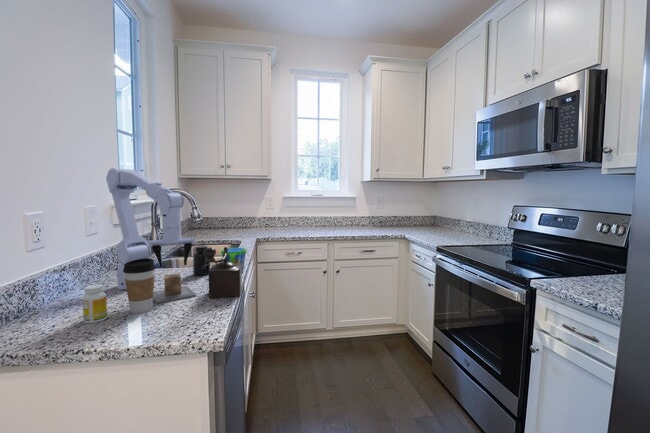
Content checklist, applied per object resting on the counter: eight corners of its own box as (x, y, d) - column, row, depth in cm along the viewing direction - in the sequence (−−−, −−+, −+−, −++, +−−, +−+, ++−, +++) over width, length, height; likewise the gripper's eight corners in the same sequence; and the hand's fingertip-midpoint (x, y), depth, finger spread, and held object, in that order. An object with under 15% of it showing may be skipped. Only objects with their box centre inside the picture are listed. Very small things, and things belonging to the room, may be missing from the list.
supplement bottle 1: (80, 324, 86) (77, 290, 85) (89, 317, 91) (87, 284, 90) (102, 322, 87) (100, 288, 86) (110, 315, 92) (108, 283, 91)
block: (165, 296, 106) (164, 278, 106) (164, 291, 111) (164, 275, 110) (181, 294, 109) (180, 276, 108) (180, 289, 113) (179, 273, 113)
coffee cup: (163, 306, 99) (161, 259, 98) (139, 316, 91) (137, 265, 90) (143, 302, 102) (140, 257, 101) (118, 312, 94) (115, 263, 93)
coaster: (156, 303, 101) (156, 301, 101) (150, 293, 111) (150, 291, 111) (195, 296, 109) (195, 294, 108) (186, 287, 118) (186, 285, 118)
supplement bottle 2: (206, 276, 133) (205, 248, 132) (190, 276, 133) (189, 248, 132) (212, 272, 140) (212, 245, 139) (197, 271, 140) (196, 245, 139)
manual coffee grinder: (211, 289, 116) (210, 240, 114) (242, 287, 118) (241, 240, 116) (203, 304, 101) (201, 249, 99) (239, 302, 103) (237, 247, 101)
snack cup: (226, 268, 147) (226, 246, 146) (249, 267, 147) (249, 246, 146) (217, 277, 131) (216, 253, 130) (243, 277, 132) (242, 253, 131)
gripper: (147, 229, 103) (149, 270, 104) (195, 227, 109) (196, 266, 111) (148, 227, 109) (150, 265, 110) (193, 225, 116) (194, 261, 117)
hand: (173, 265), depth 111 cm, fingers open, 7 cm apart
